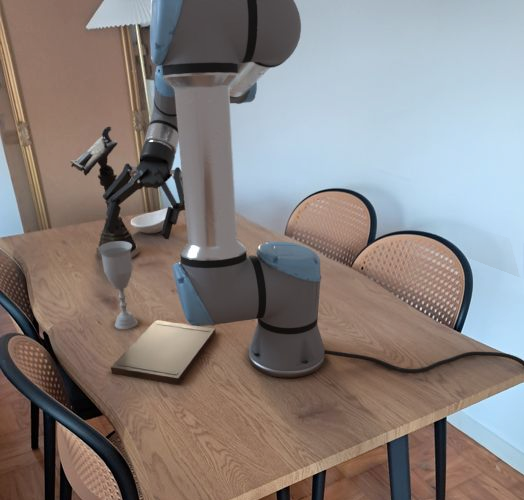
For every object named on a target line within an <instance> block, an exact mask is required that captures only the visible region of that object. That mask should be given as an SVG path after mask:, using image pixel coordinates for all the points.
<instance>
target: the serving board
mask: <svg viewBox="0 0 524 500" xmlns="http://www.w3.org/2000/svg"><path fill="white" fill-rule="evenodd" d="M216 335H217V331H216V328H214V327H207V326H193V325H191V324H188V323H187V324H186V323H179V322H172V321H165V320H159V319H156V320H155V321H153V323H152V324H151V325H150V326H148V328H147V329H146V330H145V331H144V332H143V333H142V334H141V335H140V336H139V337H138V338H137V339H136V341H134V342H133V343H132V344H131V345H130V346H129V348H127V349H126V350H125V352H124V353H123V354H122V355H121V356H120V357H119V358H118V359H117V360H116V361H114V363H113V364H112V365H111V366H110V371H111V374H113V375H119V376H125V377H130V378H136V379H142V380H148V381H154V382H159V383H165V384H171V385H177V386H179V385H180V384H181V383H182V381H183V380H184V379H185V378H186V376H187V375H188V374H189V372H190V371H191V369H192V368H193V367H194V365H195V364H196V362H197V361H198V360H199V358H200V357H201V356H202V354H203V353H204V351H206V349H207V347H208V346H209V344H210V343H211V342H212V340H213V339H214V338H215V336H216Z"/></svg>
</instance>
